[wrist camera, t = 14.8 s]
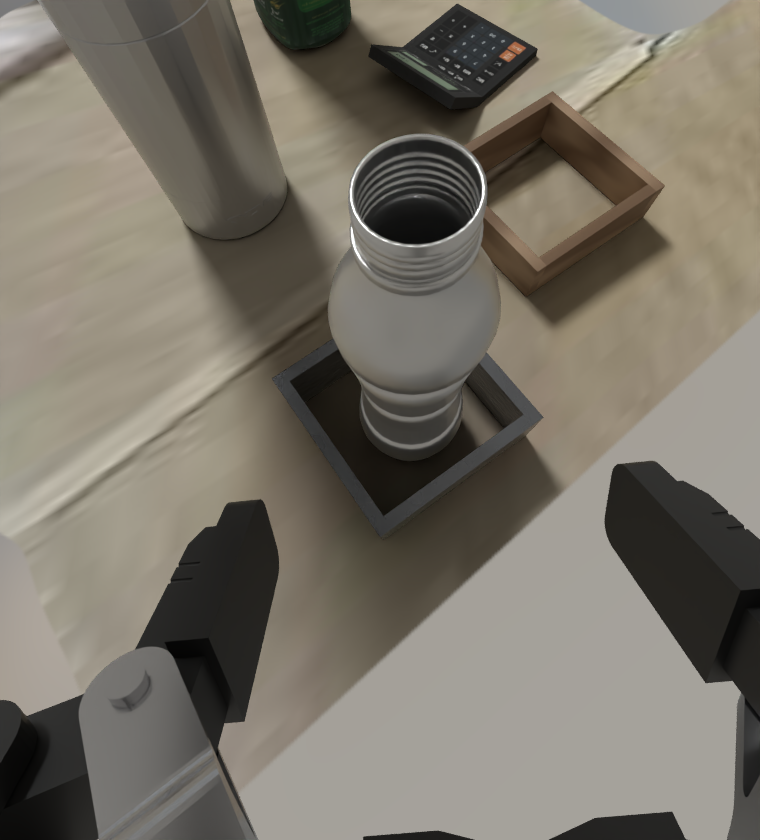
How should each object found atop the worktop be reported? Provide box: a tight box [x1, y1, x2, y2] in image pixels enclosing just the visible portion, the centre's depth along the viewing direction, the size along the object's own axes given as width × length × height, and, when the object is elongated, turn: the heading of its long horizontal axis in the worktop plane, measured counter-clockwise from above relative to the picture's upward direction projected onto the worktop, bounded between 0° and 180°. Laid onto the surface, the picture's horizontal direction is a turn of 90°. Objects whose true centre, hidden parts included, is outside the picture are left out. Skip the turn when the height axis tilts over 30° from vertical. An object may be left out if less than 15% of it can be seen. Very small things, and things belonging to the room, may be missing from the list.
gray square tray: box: [272, 339, 543, 540], centre depth 29 cm, size 12×12×4 cm
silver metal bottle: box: [328, 134, 501, 461], centre depth 21 cm, size 6×7×20 cm
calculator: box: [369, 4, 537, 110], centre depth 39 cm, size 9×12×3 cm
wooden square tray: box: [464, 91, 665, 297], centre depth 34 cm, size 12×12×3 cm
